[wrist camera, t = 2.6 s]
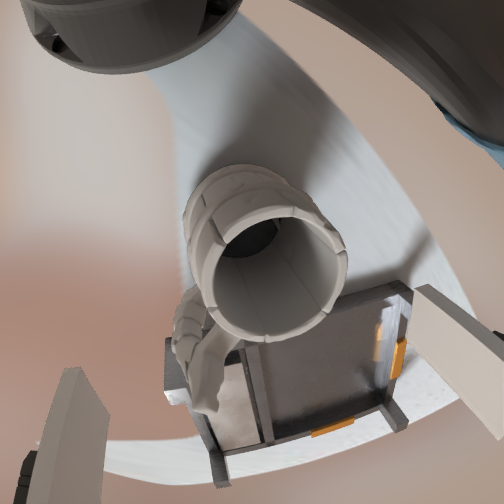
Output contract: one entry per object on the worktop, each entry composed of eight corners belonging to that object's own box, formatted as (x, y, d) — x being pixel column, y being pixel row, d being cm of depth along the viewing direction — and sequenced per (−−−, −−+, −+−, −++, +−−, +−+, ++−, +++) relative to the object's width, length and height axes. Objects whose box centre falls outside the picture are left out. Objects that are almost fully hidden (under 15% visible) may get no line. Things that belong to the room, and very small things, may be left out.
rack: (165, 338, 24) (164, 391, 19) (399, 279, 27) (439, 312, 21) (210, 445, 30) (217, 488, 25) (382, 394, 33) (406, 428, 28)
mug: (313, 202, 23) (420, 270, 12) (220, 325, 25) (250, 451, 14) (226, 138, 20) (278, 147, 9) (134, 280, 22) (104, 405, 11)
